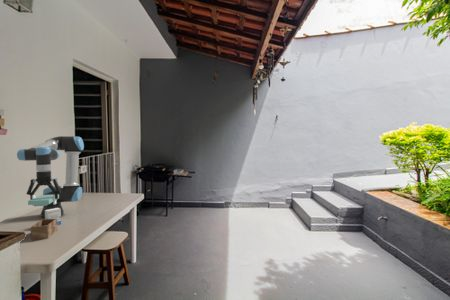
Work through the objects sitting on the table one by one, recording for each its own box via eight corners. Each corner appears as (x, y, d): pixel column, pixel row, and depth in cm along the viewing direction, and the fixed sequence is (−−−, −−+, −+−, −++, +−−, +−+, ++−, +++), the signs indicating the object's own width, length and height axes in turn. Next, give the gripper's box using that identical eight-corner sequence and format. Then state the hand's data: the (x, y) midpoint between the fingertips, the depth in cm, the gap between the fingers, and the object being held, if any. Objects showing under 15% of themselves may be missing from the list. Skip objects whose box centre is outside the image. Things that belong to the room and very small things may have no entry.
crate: (41, 231, 160) (41, 219, 159) (57, 230, 162) (56, 218, 162) (30, 239, 146) (30, 227, 146) (47, 238, 148) (47, 226, 148)
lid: (40, 200, 159) (40, 195, 159) (59, 200, 162) (58, 194, 162) (28, 207, 144) (28, 200, 144) (48, 206, 147) (48, 200, 147)
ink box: (59, 222, 176) (58, 207, 175) (61, 224, 173) (61, 208, 172) (44, 226, 169) (44, 209, 168) (47, 227, 166) (46, 211, 165)
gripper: (18, 172, 145) (19, 207, 146) (62, 171, 151) (62, 205, 153) (25, 170, 153) (26, 203, 154) (66, 169, 159) (67, 202, 160)
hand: (44, 204), depth 153 cm, fingers closed on lid, 11 cm apart
